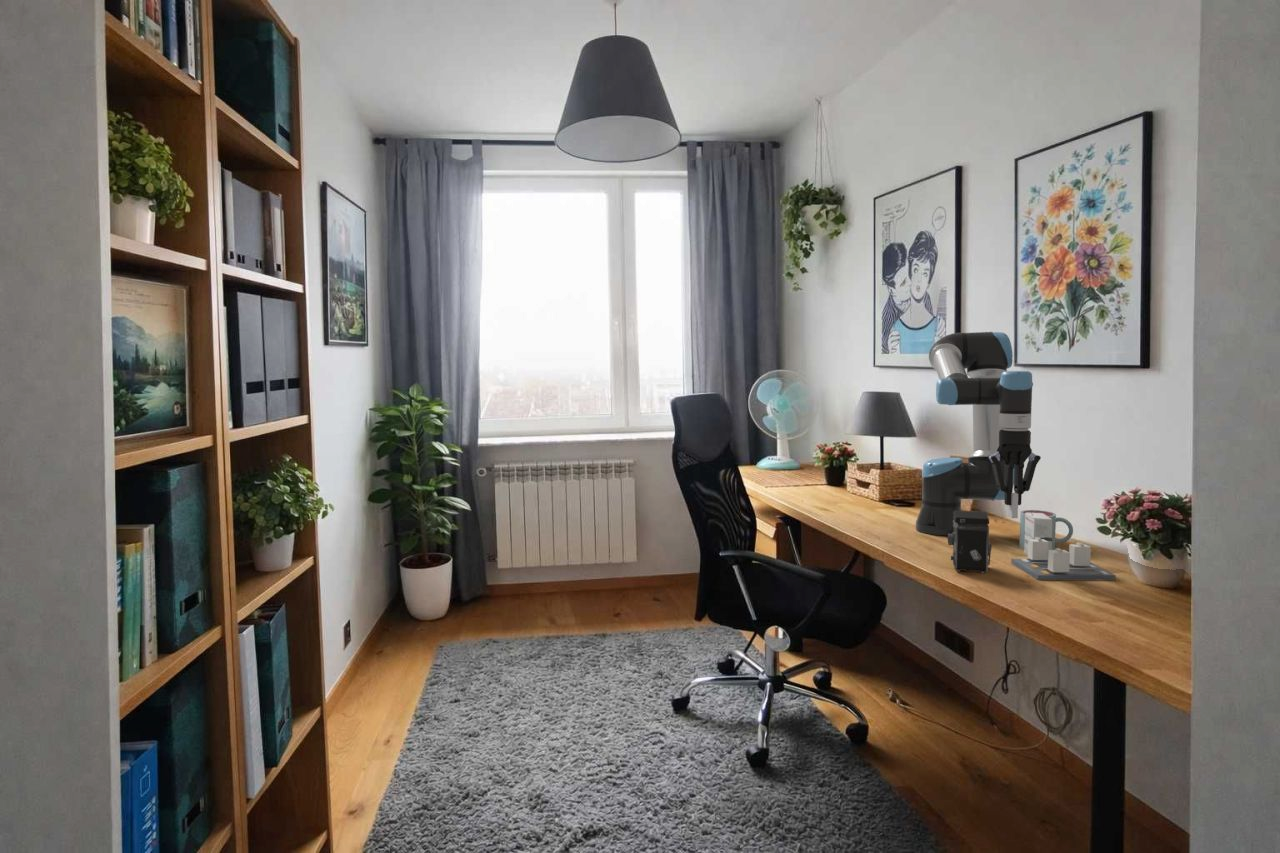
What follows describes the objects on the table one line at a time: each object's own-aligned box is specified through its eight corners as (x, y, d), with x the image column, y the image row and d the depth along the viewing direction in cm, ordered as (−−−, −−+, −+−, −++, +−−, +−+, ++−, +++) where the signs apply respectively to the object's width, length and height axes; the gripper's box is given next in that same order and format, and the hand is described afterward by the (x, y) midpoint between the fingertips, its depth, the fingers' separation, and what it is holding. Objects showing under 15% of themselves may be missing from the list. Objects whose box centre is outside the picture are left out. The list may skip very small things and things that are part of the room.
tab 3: (1068, 563, 193) (1069, 542, 193) (1084, 563, 193) (1085, 542, 192) (1073, 565, 191) (1074, 544, 190) (1089, 565, 190) (1090, 544, 190)
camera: (987, 564, 200) (989, 509, 198) (992, 575, 190) (994, 518, 188) (946, 561, 203) (947, 507, 202) (948, 572, 193) (950, 516, 192)
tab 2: (1047, 569, 188) (1048, 547, 188) (1063, 569, 188) (1064, 547, 187) (1052, 572, 186) (1053, 550, 185) (1069, 572, 185) (1070, 550, 185)
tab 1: (1027, 557, 199) (1028, 537, 199) (1042, 557, 199) (1043, 537, 198) (1032, 560, 197) (1032, 539, 196) (1047, 559, 196) (1048, 539, 196)
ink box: (1052, 561, 201) (1054, 519, 200) (1032, 560, 202) (1034, 518, 201) (1042, 552, 210) (1043, 512, 209) (1023, 552, 211) (1024, 511, 210)
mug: (1021, 549, 214) (1022, 515, 213) (1017, 541, 222) (1019, 509, 221) (1075, 553, 208) (1076, 518, 207) (1069, 545, 217) (1071, 512, 216)
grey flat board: (1011, 563, 200) (1011, 557, 200) (1083, 562, 199) (1083, 557, 199) (1037, 579, 185) (1037, 573, 185) (1115, 579, 184) (1115, 573, 184)
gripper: (995, 430, 191) (993, 520, 193) (1047, 430, 191) (1044, 520, 193) (983, 428, 199) (981, 514, 201) (1033, 427, 198) (1030, 514, 200)
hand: (1012, 517), depth 197 cm, fingers closed
